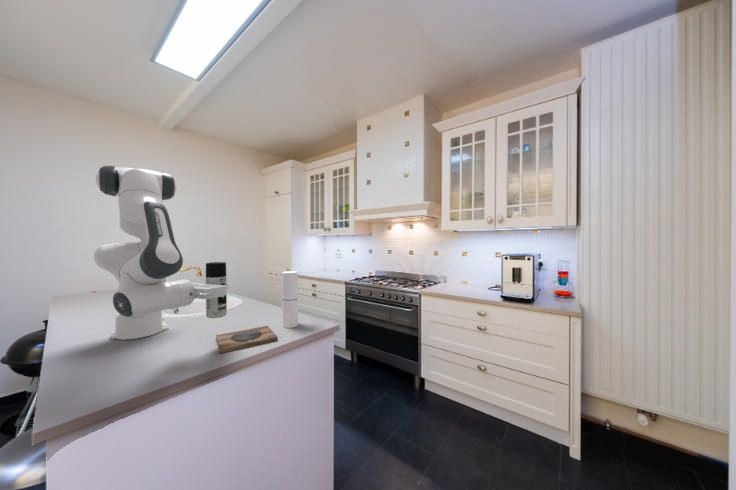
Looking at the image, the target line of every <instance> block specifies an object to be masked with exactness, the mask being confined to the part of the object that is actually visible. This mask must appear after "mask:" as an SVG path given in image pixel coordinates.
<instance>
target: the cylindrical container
mask: <svg viewBox="0 0 736 490" xmlns="http://www.w3.org/2000/svg"><path fill="white" fill-rule="evenodd" d="M298 274H299V273H298V271H295V270H288V271H287V270H285V271H282V272H281V312H282V313H281V325H282V326H281V327H282V328H285V329H292V328H296V327H297V326H299V276H298Z"/></svg>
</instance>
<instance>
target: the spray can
mask: <svg viewBox="0 0 736 490" xmlns="http://www.w3.org/2000/svg"><path fill="white" fill-rule="evenodd" d="M205 283H206V284H216V285H224V284H225V285H227V262H225V261H214V262H213V261H212V262H211V261H210V262H206V263H205ZM227 294H228V293H227V290H226V295H225V296H222V297H217V298H211V299H205V311H206V313H205V316H206V318H208V319H218V318H219V319H220V318H224V317H225V316H226V315H227V312H228V311H227V310H228V309H227V308H228V307H227V303H228V301H227V300H228V299H227Z"/></svg>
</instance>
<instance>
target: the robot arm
mask: <svg viewBox="0 0 736 490" xmlns="http://www.w3.org/2000/svg"><path fill="white" fill-rule="evenodd" d="M95 181H96V182H95V183H96V186H97V187H98V188H99V191H100V192H101V193H103V194H104V195H106V196H107V195H108V196H111V197H118V209H119V227H120V229H121V230H122V231H123V232H124V233H126V234H127V235H130V236H132V237H136V238H138V239H139V240H140V241H138V242H137V241H136V242H135V241H133V242H131V241H130V242H111V243H105V244H101V245H99V246H98V247H97V248H96V250H94V254H93V261H94V262H95V264H96V266H98V267H99V268H101V269H102V270H104V271H107V272H109V273H110V274H111V275H112V276H113V277H114V278H116V280H117V282H118V288H117V290H116V292H115V293H114V294H113V297H112V304H113V307H114V309H115V311H116V312H117V313H118V315H117V316H116V317H115V323H114V324H115V329H114V331H115V332H113V333H112V334H110V335H109V339H113V340H114V339H116V340H123V341H125V340H135V339H141V338H144V337H145V338H146V337H148V336H149V337H150V336H153V335H156V334H159V333H161V332H164V331H167V330H168V329H169V325H168V324H167V323H166V322H165V321H164V318H163V311H165V310H174V309H178V308H182V307H187V306H190V305H192V303H193V302H194V300H196V299H199V300H206V299H211V298H217V297H222V296H225V295H226V291H227V290H228V289H229V285H228V284H226V285H225V284H224V285H216V284H206V282H195V281H190V280H189V279H186V278H185V279H184V278H183V279H177V280H171V281H170V280H169V281H168V280H167V279H166V278H168V277H171V276H173V275H175V274H177V273H179V271H180V270H181V269H182V267H183V263H184V261H183V260H184V259H183V255H182V252H181V251H180V249H179V247H178V245H177V243H176V241H175V237H174V232H173V227H172V223H171V222H172V221H171V219H170V215H169V212H168V210H167V208H166V206H165V205H164V204H163V203H164V202H163V201H166V200H170V199H173V198H174V196H175V194H176V192H177V183H176V181H175V178H174V176H172V174H169V173H166V172H163V171H161V172H159V171H156V170H152V169H151V170H150V169H145V168H141V167H140V168H135V167H125V166H124V167H123V166H115V165H103V166H101V167H100V168H99V170H98V171H97V173H96V175H95Z"/></svg>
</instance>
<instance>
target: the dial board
mask: <svg viewBox="0 0 736 490" xmlns="http://www.w3.org/2000/svg"><path fill="white" fill-rule="evenodd" d="M215 339H216V340H215V341H216V345H217V348H218V351H219V354H224V353H229V352H232V351H238V350H242V349H246V348H247V349H248V348H251V347H255V346H261V345H264V344H269V343H273V342H278V336H277V334H275V332H274V331H273V330H272V329H271V328H270V326H268V325H262V326H257V327H252V328H248V329H247V328H246V329H242V330H238V331H231V332H227V333H226V332H225V333H220V334H216V335H215Z"/></svg>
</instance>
